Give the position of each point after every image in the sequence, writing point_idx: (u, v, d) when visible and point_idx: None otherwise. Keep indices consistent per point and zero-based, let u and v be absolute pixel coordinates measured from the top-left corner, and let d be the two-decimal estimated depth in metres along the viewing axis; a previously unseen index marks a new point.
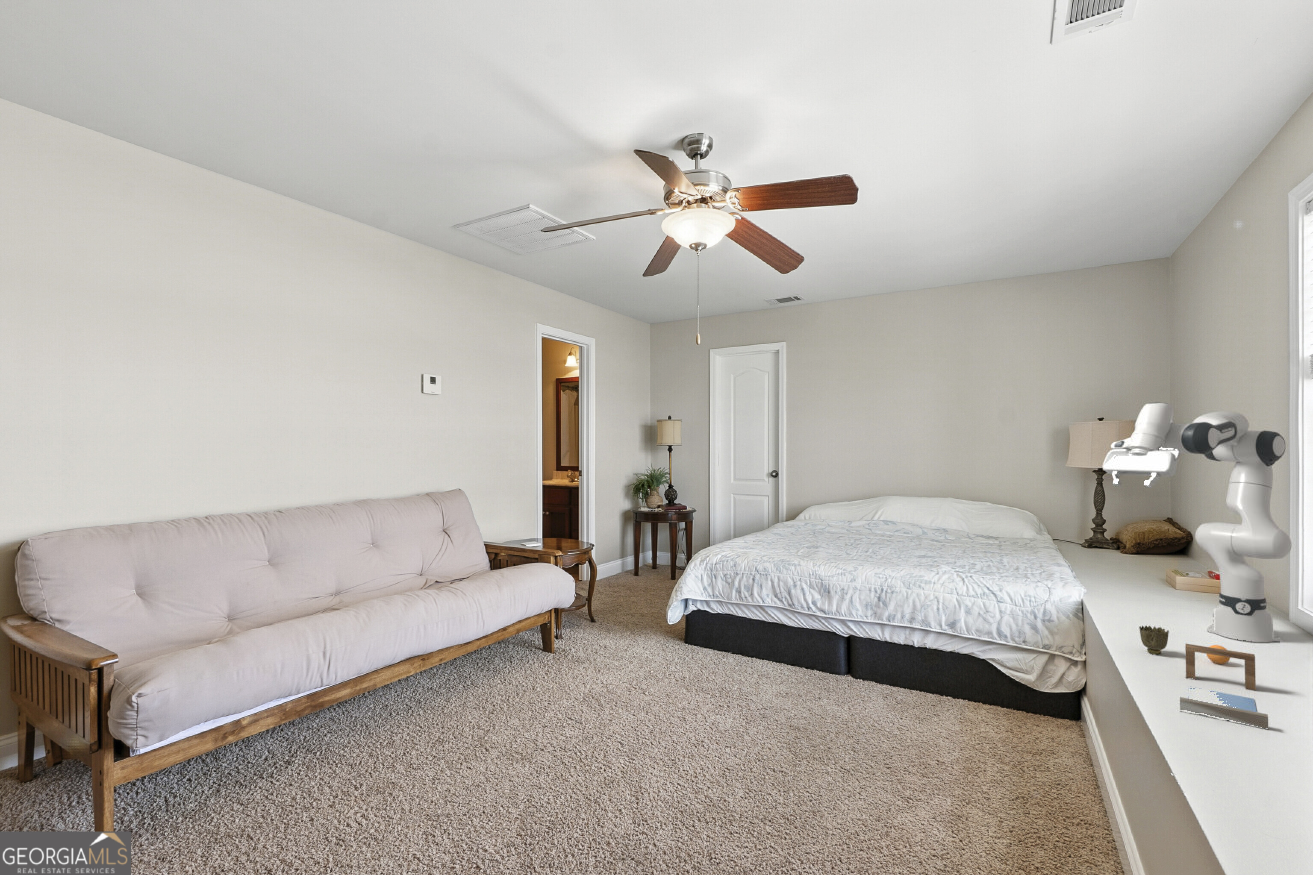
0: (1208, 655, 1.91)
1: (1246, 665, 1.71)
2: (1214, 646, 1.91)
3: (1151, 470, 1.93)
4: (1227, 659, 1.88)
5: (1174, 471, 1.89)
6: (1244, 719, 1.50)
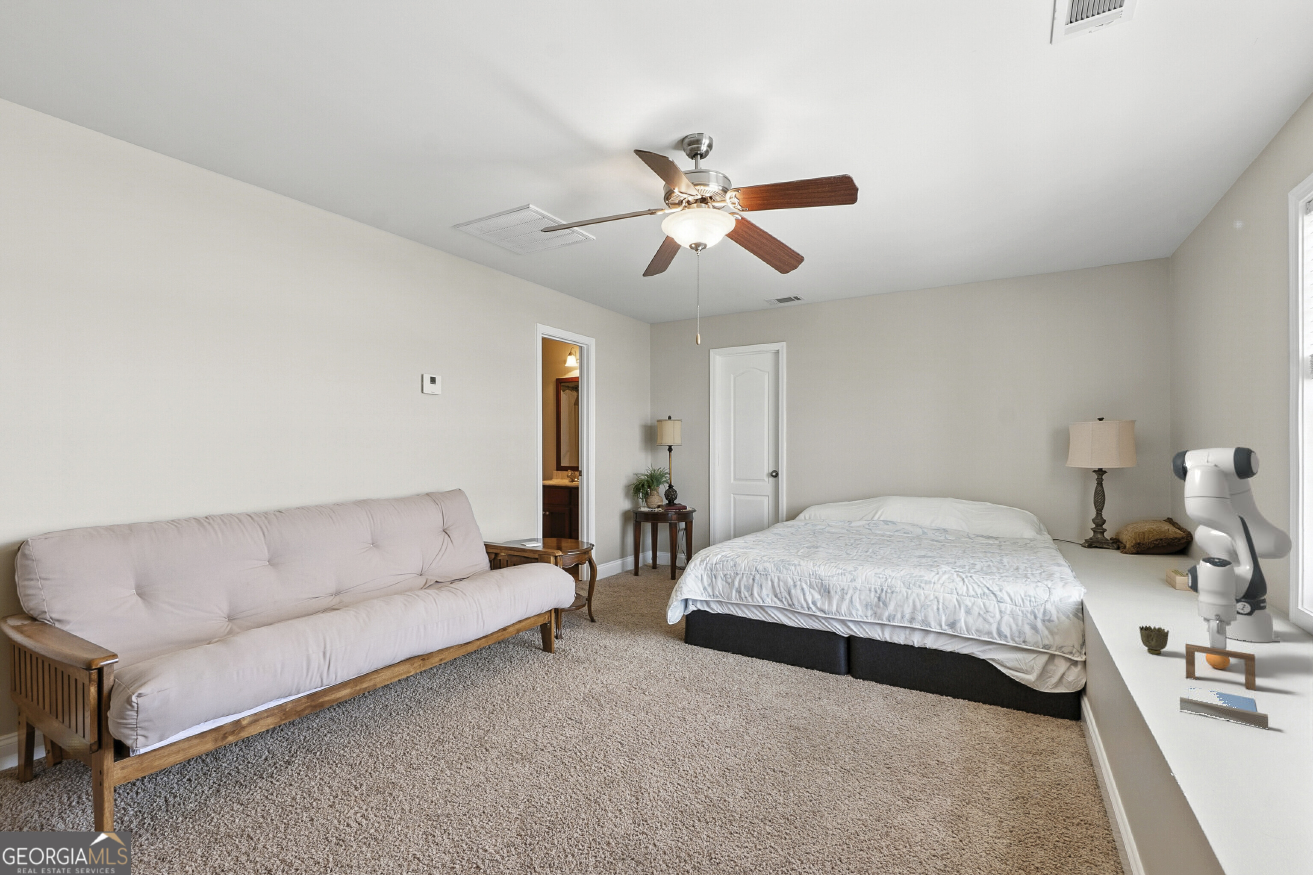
0: None
1: (1246, 665, 1.71)
2: (1214, 664, 1.85)
3: None
4: None
5: (1222, 645, 1.82)
6: (1244, 719, 1.50)
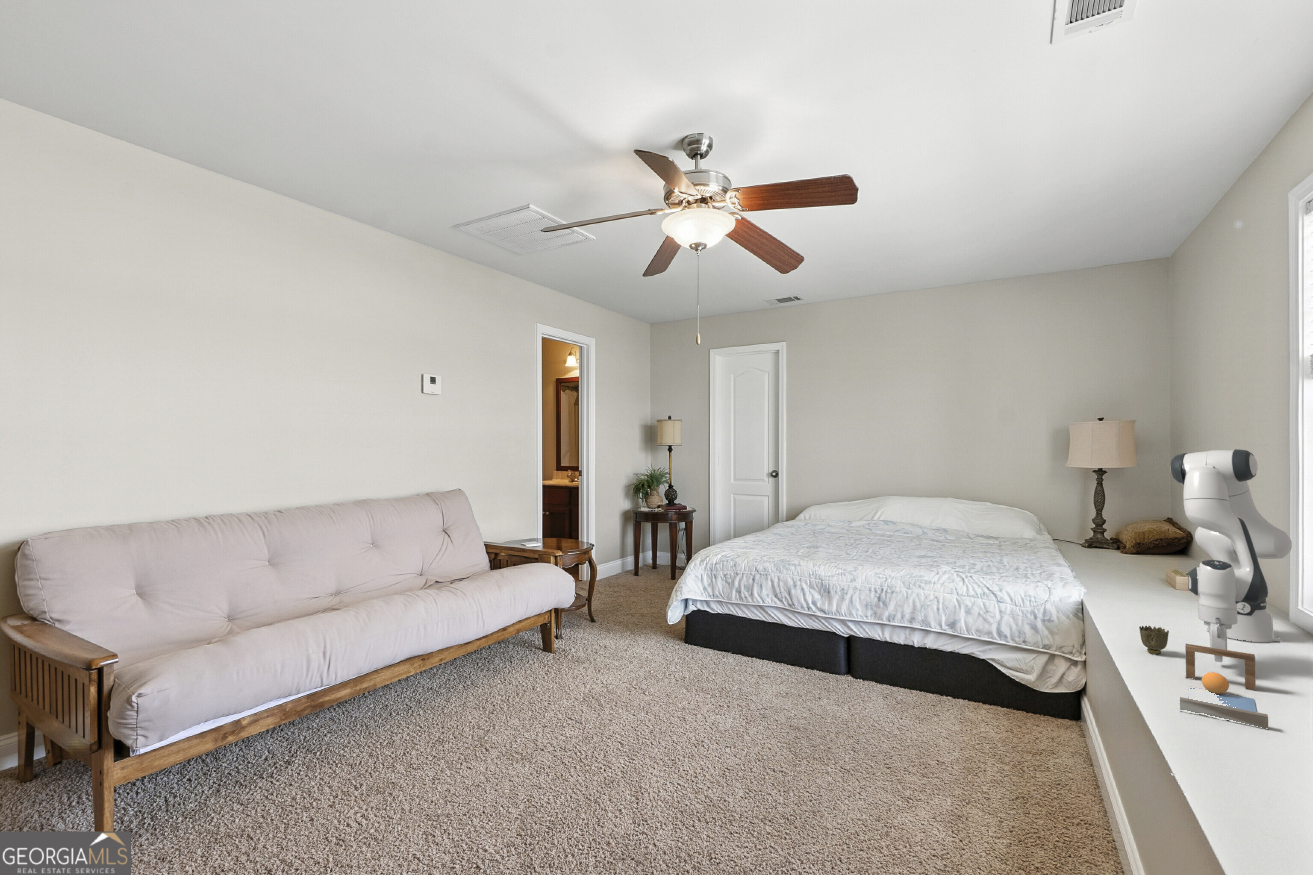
0: (1204, 675, 1.70)
1: (1246, 665, 1.71)
2: None
3: None
4: (1225, 679, 1.67)
5: None
6: (1244, 719, 1.50)
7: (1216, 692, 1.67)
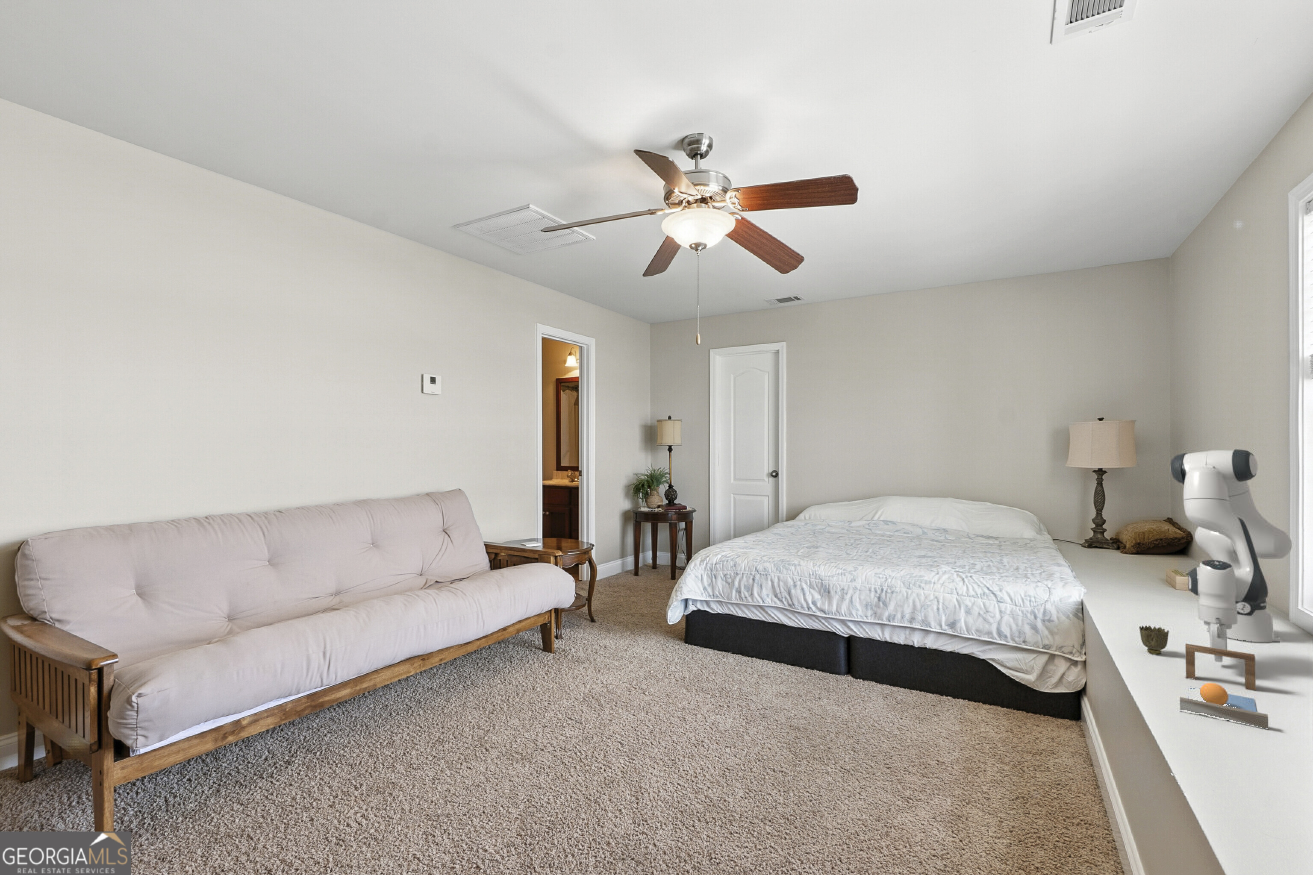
0: None
1: (1246, 665, 1.71)
2: (1209, 702, 1.60)
3: None
4: None
5: None
6: (1244, 719, 1.50)
7: None
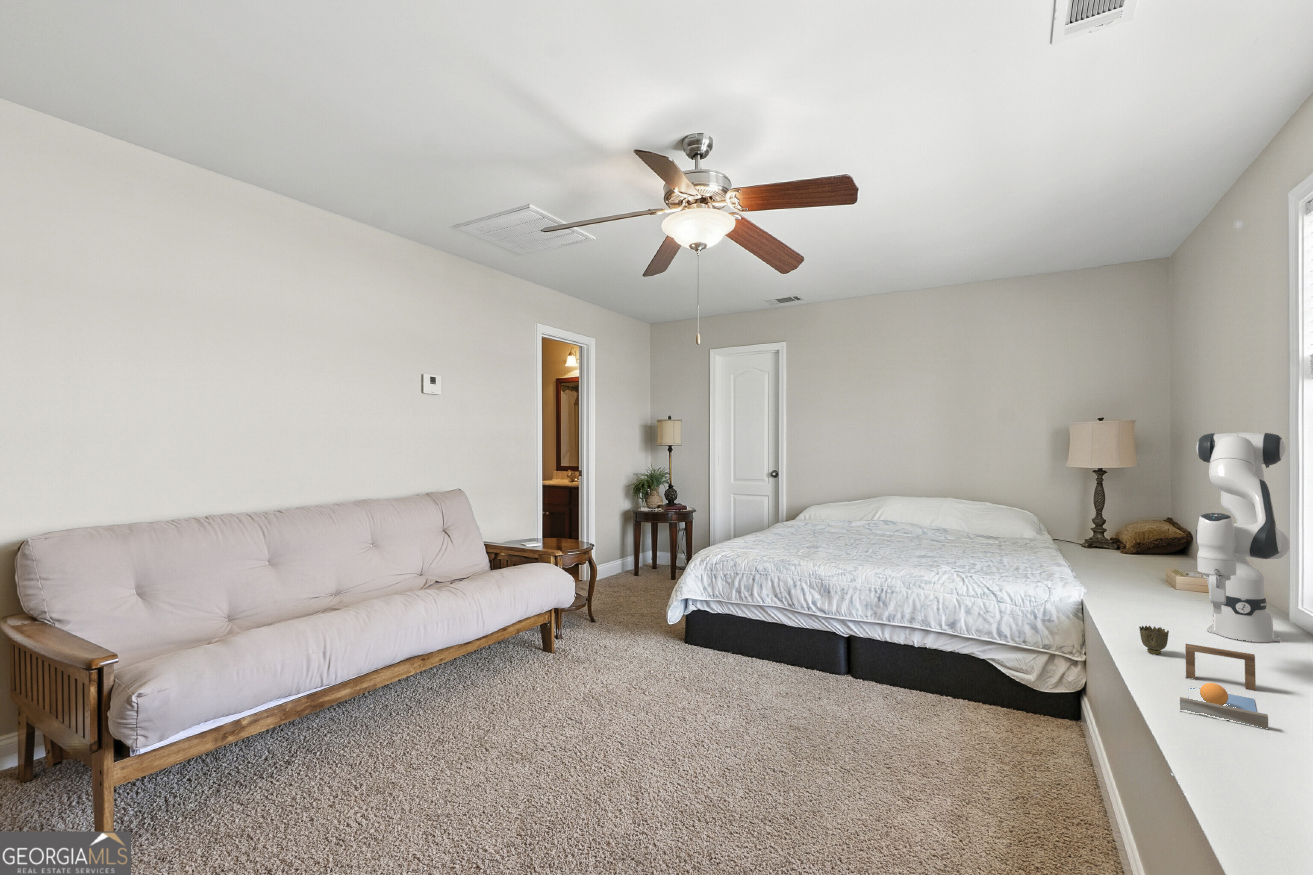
0: None
1: (1246, 665, 1.71)
2: (1209, 702, 1.60)
3: None
4: None
5: (1221, 599, 1.80)
6: (1244, 719, 1.50)
7: None
